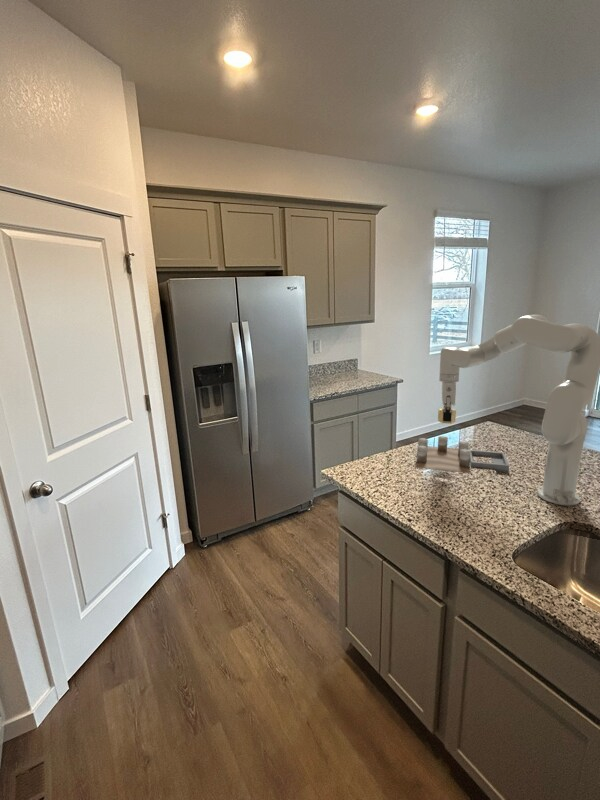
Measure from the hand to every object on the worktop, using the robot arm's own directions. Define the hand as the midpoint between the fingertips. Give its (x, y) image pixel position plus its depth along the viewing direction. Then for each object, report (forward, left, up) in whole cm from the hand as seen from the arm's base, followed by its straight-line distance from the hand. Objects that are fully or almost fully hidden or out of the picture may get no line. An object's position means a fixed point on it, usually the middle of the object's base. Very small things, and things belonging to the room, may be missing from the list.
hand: (446, 418), depth 165 cm
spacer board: (0, +1, -19) cm, 19 cm away
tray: (+1, -17, -19) cm, 26 cm away
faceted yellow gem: (0, 0, -1) cm, 1 cm away
